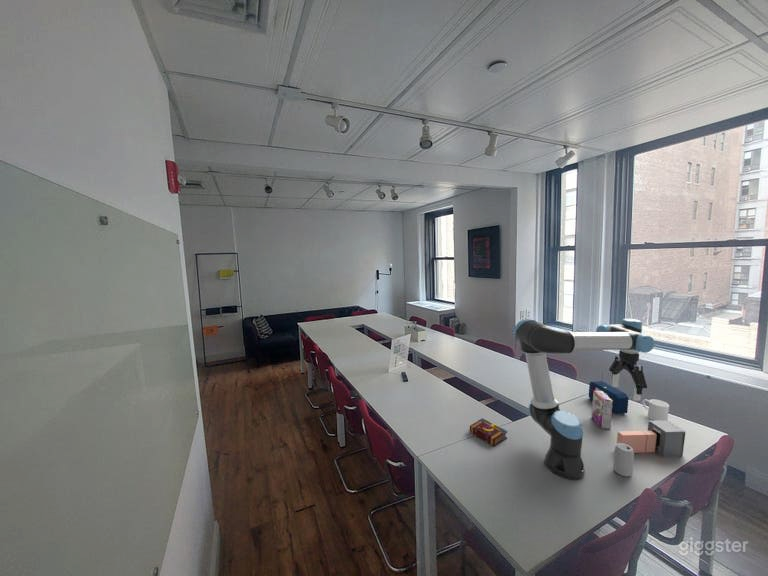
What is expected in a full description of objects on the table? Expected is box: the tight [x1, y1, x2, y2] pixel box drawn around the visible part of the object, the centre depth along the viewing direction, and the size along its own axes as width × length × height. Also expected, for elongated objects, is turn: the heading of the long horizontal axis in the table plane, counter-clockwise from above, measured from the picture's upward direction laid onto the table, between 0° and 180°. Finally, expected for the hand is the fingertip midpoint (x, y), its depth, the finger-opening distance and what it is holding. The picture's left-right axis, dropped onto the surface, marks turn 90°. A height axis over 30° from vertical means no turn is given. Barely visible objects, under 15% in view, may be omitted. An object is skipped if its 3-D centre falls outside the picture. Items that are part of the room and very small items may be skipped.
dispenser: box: [647, 420, 687, 458], centre depth 143 cm, size 9×9×12 cm
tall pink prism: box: [616, 430, 657, 454], centre depth 143 cm, size 16×3×9 cm, turn 91°
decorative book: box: [469, 417, 508, 447], centre depth 157 cm, size 11×16×5 cm
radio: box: [588, 371, 630, 415], centre depth 182 cm, size 21×9×20 cm, turn 6°
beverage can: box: [612, 442, 635, 477], centre depth 130 cm, size 6×6×12 cm
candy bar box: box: [591, 390, 613, 430], centre depth 165 cm, size 11×5×16 cm, turn 168°
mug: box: [641, 399, 670, 421], centre depth 170 cm, size 8×12×10 cm
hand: (625, 393), depth 147 cm, fingers open, 13 cm apart
